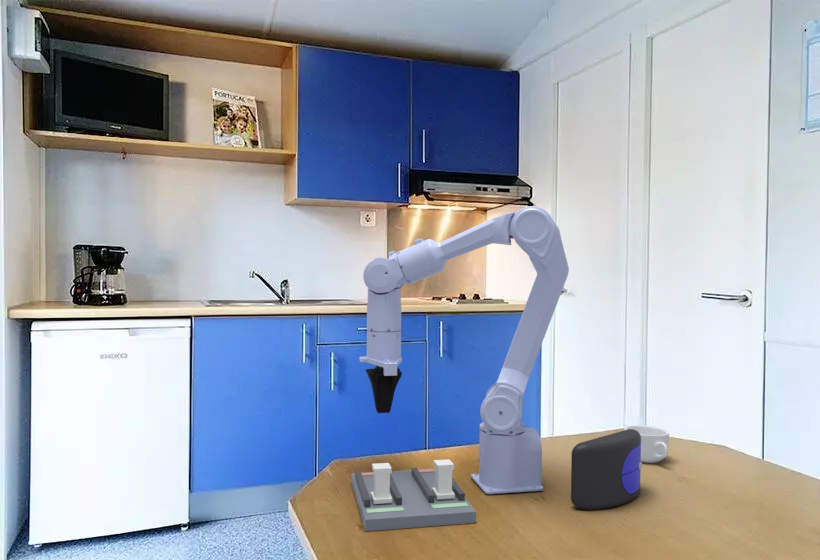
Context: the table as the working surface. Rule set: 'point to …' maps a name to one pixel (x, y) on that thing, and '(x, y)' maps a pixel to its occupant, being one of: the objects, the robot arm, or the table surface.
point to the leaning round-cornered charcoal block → (606, 470)
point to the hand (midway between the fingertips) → (383, 412)
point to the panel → (410, 502)
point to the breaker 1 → (381, 483)
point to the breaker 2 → (443, 479)
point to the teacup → (652, 442)
